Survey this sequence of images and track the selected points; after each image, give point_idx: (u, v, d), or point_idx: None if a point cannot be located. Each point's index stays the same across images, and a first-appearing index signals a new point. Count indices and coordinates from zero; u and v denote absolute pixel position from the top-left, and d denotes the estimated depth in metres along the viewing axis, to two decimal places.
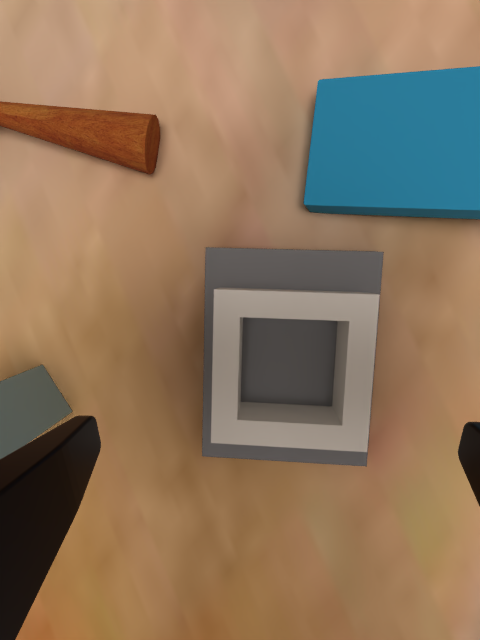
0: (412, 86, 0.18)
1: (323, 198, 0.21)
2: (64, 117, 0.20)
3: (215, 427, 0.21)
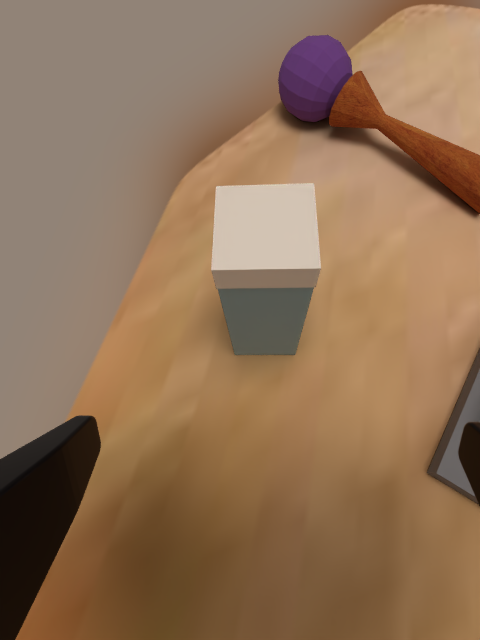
0: None
1: None
2: (449, 144, 0.26)
3: None
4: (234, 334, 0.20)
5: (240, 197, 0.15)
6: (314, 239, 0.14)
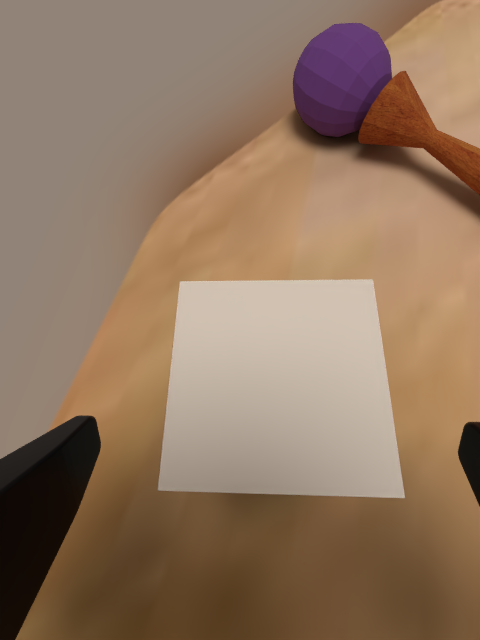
0: None
1: None
2: None
3: None
4: None
5: (226, 307, 0.07)
6: (384, 417, 0.06)
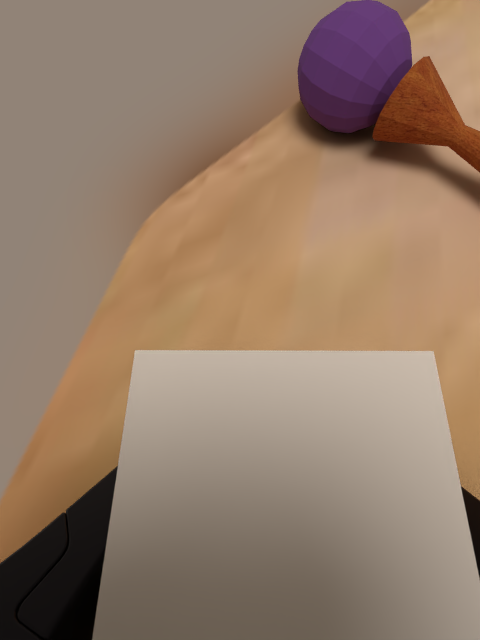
0: None
1: None
2: None
3: None
4: None
5: (204, 396, 0.05)
6: (471, 612, 0.04)
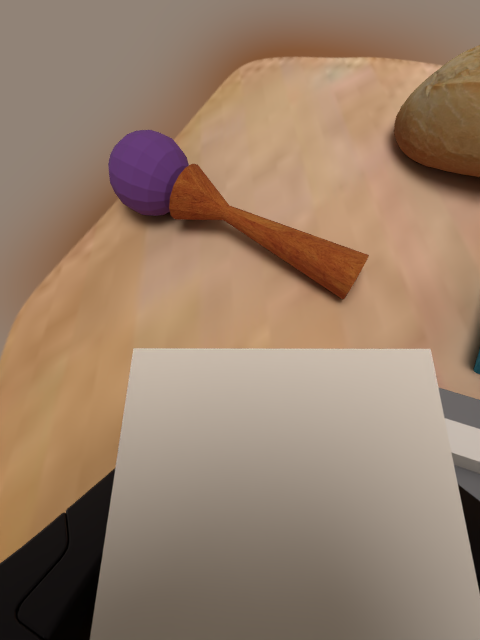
0: None
1: None
2: (295, 234, 0.24)
3: None
4: None
5: (203, 394, 0.05)
6: (467, 608, 0.04)
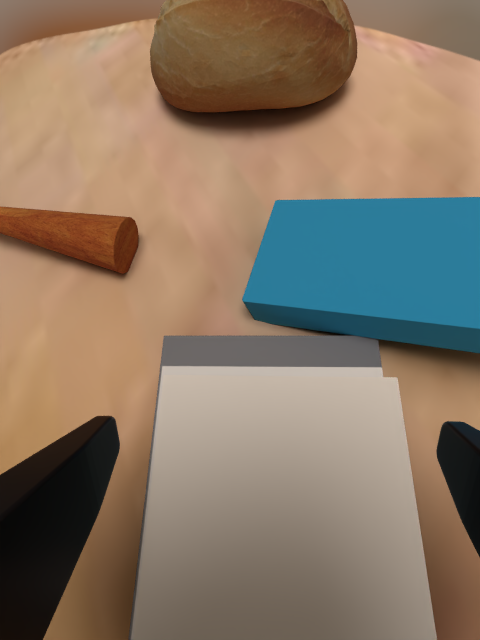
0: (361, 209, 0.18)
1: (264, 297, 0.18)
2: (41, 215, 0.20)
3: None
4: None
5: (219, 412, 0.06)
6: (415, 573, 0.05)
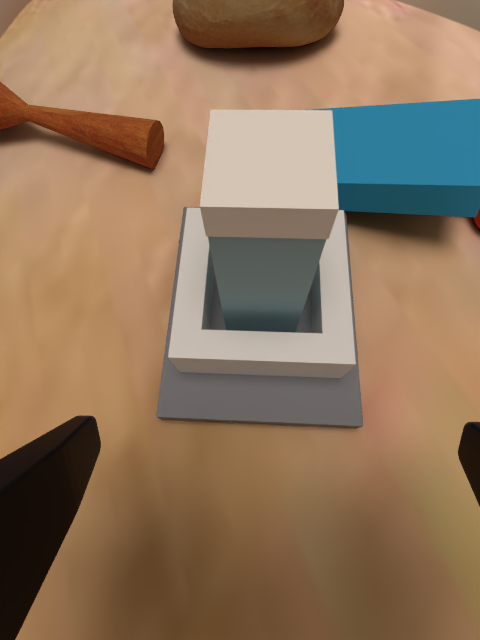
0: (334, 115, 0.24)
1: None
2: (89, 114, 0.26)
3: (175, 338, 0.17)
4: (226, 303, 0.17)
5: (240, 123, 0.12)
6: (331, 174, 0.11)
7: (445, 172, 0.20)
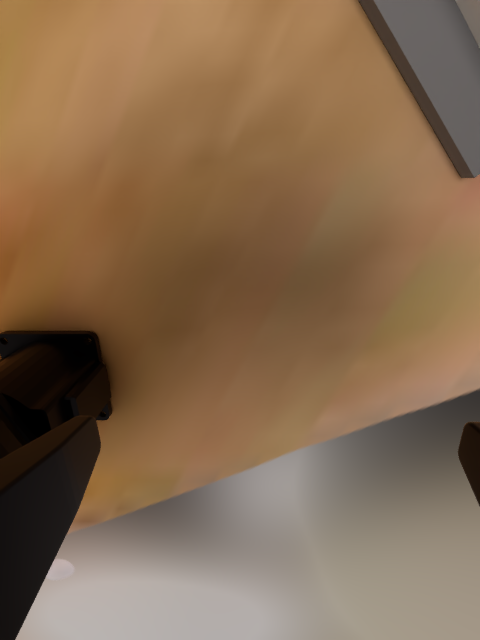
0: None
1: None
2: None
3: None
4: None
5: None
6: None
7: None
